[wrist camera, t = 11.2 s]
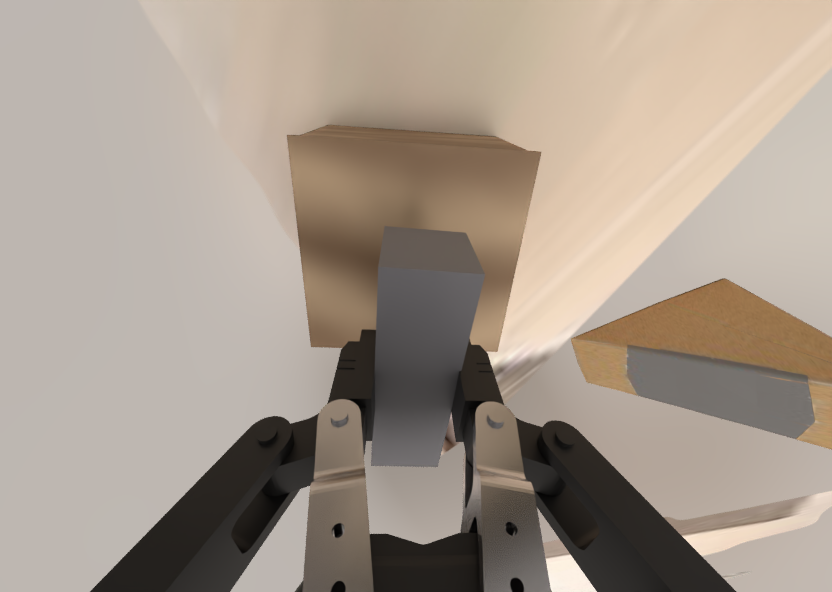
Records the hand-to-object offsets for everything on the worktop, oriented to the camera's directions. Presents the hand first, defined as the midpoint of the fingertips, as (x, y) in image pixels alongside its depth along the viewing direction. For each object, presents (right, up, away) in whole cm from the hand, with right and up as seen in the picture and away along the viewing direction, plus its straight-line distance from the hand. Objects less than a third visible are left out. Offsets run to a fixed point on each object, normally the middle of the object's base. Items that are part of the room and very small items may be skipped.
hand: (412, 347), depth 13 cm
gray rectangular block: (0, 0, +1) cm, 1 cm away
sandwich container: (+25, -2, +21) cm, 33 cm away
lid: (0, +5, +5) cm, 7 cm away
